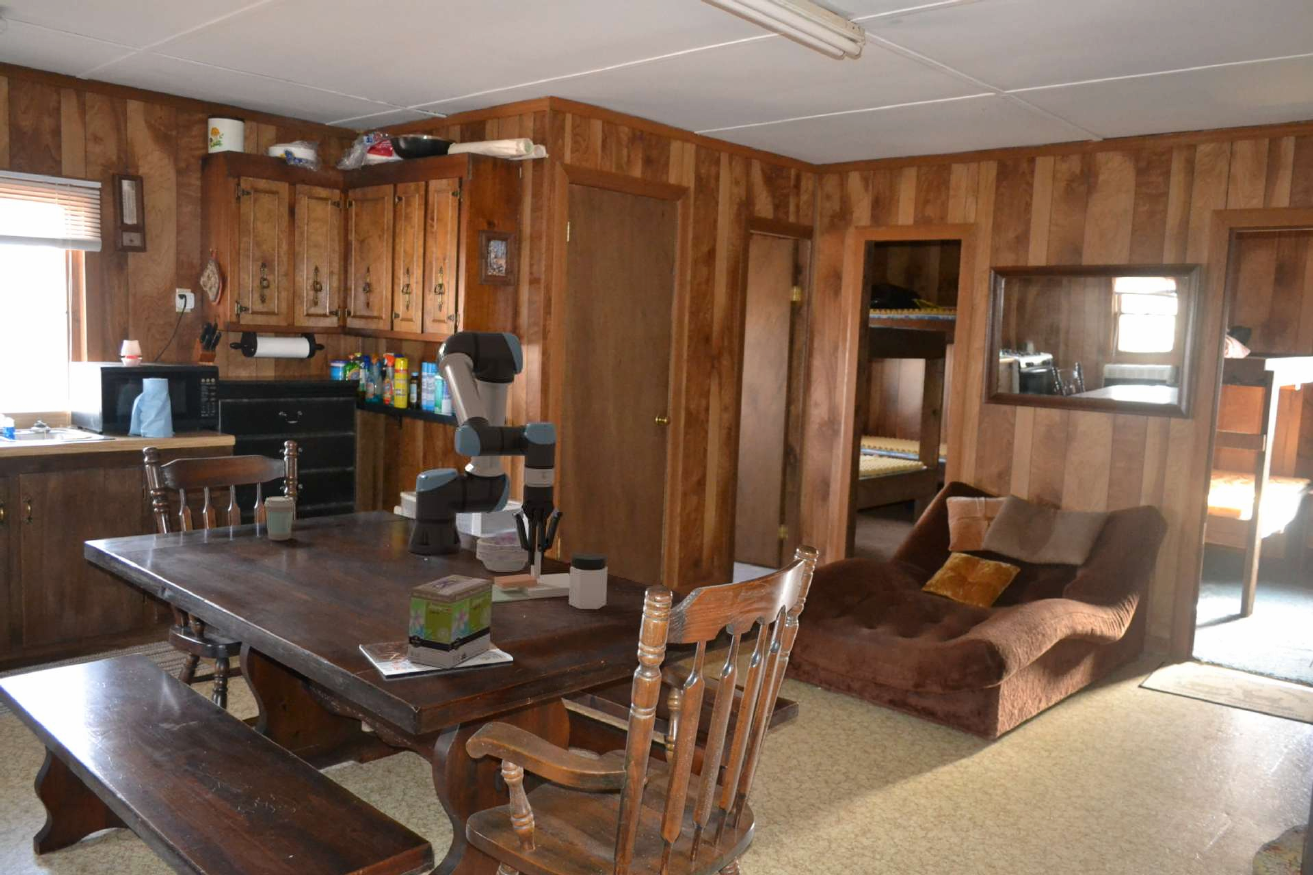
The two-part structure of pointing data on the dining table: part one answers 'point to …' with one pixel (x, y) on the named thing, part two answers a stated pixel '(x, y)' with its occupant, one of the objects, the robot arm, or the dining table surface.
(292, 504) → the coffee cup
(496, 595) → the mat
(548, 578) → the pale grey flat slab
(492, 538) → the paper bowls
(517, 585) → the tile
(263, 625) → the dining table surface
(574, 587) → the jar
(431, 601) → the tea box
